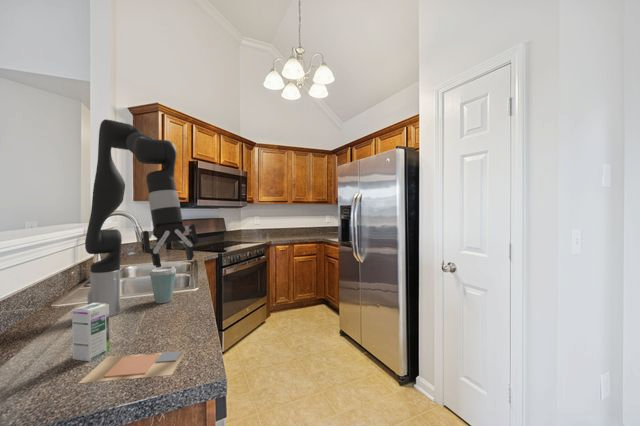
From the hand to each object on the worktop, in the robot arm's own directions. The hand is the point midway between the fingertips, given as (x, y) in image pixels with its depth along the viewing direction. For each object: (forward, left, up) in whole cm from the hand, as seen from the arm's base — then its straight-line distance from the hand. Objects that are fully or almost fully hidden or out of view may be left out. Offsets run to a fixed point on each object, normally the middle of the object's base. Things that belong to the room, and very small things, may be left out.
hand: (174, 263), depth 80 cm
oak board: (-7, -7, -26) cm, 27 cm away
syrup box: (-22, +1, -26) cm, 34 cm away
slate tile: (0, -4, -25) cm, 25 cm away
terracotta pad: (-8, -7, -25) cm, 27 cm away
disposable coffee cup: (-21, +51, -26) cm, 61 cm away
